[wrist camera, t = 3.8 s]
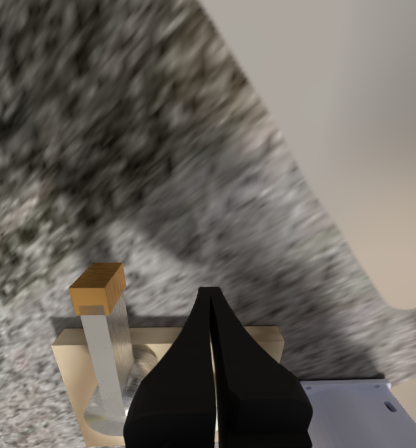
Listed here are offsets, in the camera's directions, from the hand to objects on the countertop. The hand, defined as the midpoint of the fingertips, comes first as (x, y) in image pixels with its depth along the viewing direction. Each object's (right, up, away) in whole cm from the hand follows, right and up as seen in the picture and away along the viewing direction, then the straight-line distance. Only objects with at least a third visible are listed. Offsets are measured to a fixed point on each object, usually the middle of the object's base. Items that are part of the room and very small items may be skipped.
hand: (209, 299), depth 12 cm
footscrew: (-6, -3, +1) cm, 7 cm away
